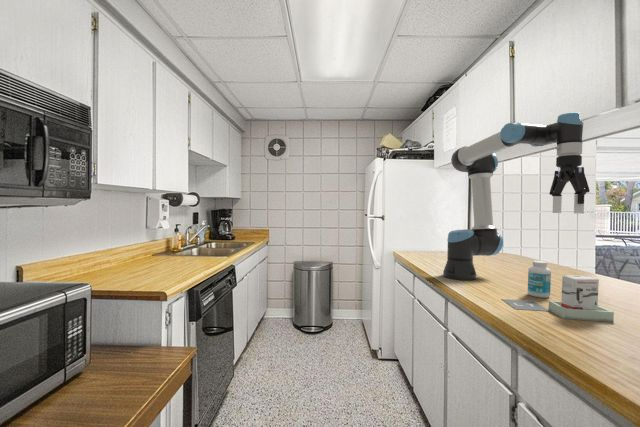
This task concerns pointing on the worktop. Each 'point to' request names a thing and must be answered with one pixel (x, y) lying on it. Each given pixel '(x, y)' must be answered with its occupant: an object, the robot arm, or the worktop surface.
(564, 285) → the ink box
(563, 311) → the tray
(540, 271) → the pill bottle
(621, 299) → the worktop surface
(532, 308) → the label
